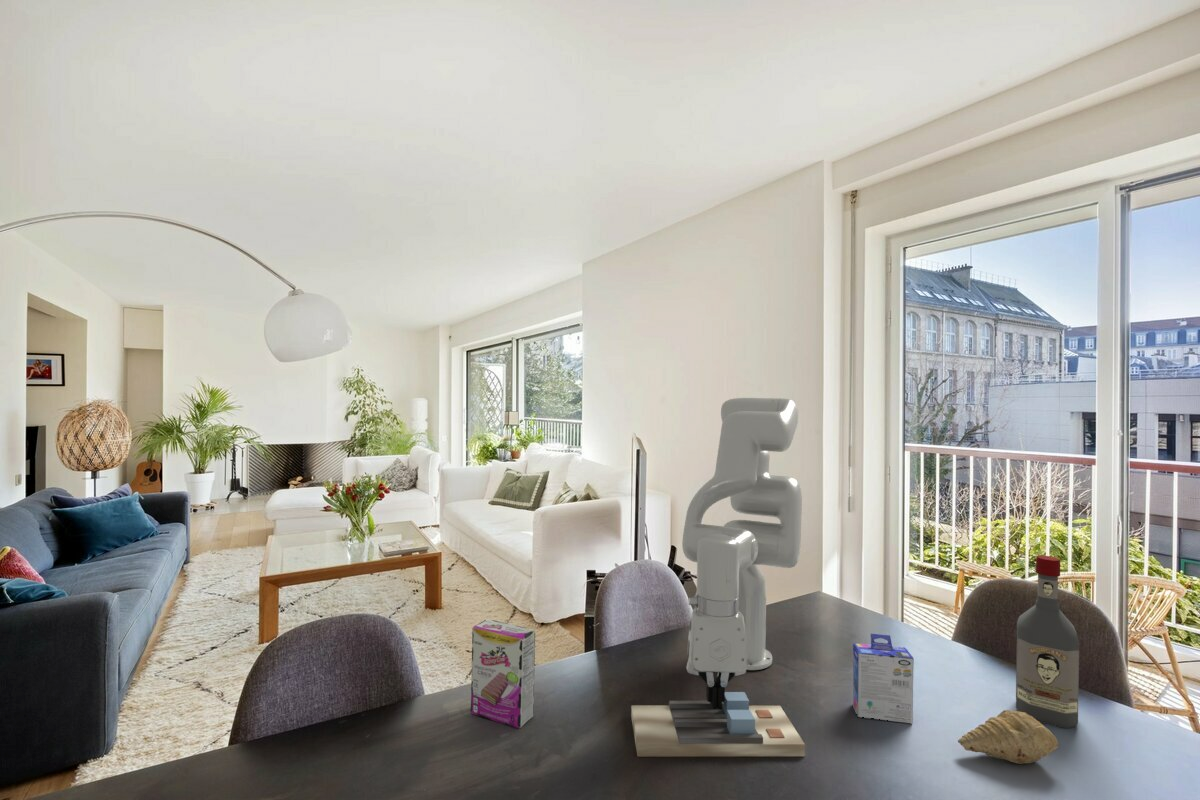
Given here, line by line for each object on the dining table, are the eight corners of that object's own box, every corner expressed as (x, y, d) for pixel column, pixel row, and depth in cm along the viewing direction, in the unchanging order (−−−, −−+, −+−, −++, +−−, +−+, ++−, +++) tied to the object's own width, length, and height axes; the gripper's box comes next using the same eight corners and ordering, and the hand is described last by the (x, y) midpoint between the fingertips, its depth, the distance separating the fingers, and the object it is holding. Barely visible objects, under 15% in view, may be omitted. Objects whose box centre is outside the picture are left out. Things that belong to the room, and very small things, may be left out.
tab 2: (726, 727, 99) (727, 709, 99) (749, 727, 99) (749, 709, 99) (731, 737, 96) (731, 719, 96) (754, 737, 96) (755, 719, 96)
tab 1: (722, 708, 105) (722, 692, 105) (744, 708, 105) (744, 692, 105) (726, 717, 102) (727, 700, 102) (748, 717, 102) (749, 700, 102)
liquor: (1015, 696, 116) (1018, 549, 116) (1073, 711, 110) (1076, 557, 110) (1016, 716, 108) (1019, 558, 108) (1078, 733, 103) (1081, 567, 103)
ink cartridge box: (905, 709, 110) (906, 634, 110) (915, 725, 105) (916, 646, 105) (850, 703, 112) (852, 629, 112) (857, 718, 107) (858, 641, 107)
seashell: (980, 777, 90) (981, 726, 90) (946, 746, 98) (947, 699, 98) (1063, 775, 91) (1064, 725, 91) (1023, 745, 99) (1023, 699, 99)
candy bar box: (469, 715, 105) (470, 626, 105) (485, 702, 110) (486, 617, 110) (520, 731, 100) (521, 638, 100) (535, 716, 105) (536, 628, 105)
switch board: (631, 716, 106) (631, 700, 106) (779, 716, 107) (780, 700, 107) (637, 756, 94) (637, 738, 94) (804, 756, 95) (805, 738, 95)
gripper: (679, 611, 100) (677, 716, 99) (764, 612, 100) (762, 717, 100) (673, 596, 107) (671, 694, 107) (752, 597, 107) (750, 695, 107)
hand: (715, 705), depth 103 cm, fingers closed
